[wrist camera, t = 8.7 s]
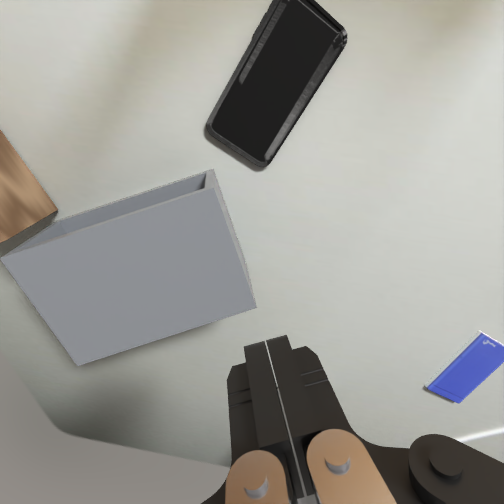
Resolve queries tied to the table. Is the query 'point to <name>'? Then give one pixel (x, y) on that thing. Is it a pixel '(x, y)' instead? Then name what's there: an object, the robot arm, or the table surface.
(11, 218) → the door
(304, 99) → the phone
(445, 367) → the hard drive
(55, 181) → the table surface
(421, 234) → the table surface
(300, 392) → the robot arm
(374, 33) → the table surface
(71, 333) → the storage box
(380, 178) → the table surface
